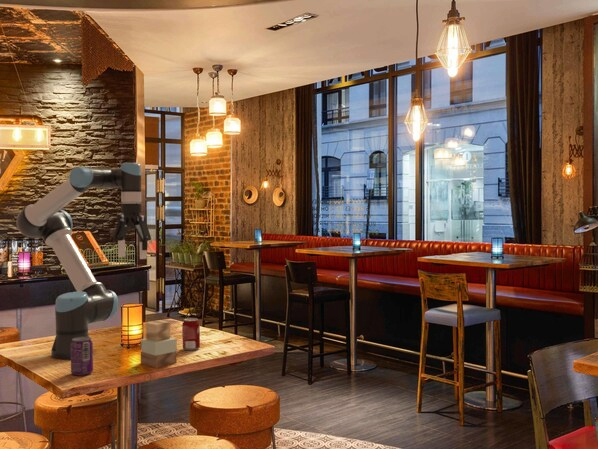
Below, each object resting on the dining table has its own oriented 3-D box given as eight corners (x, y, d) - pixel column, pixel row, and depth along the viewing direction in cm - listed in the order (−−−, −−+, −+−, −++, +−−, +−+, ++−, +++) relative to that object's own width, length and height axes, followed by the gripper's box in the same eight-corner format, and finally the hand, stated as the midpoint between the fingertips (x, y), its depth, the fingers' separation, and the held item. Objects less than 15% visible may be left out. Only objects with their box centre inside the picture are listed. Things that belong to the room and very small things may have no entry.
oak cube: (156, 341, 221) (156, 324, 221) (146, 339, 225) (146, 322, 225) (170, 338, 226) (170, 322, 226) (159, 336, 230) (159, 320, 230)
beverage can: (95, 370, 216) (95, 336, 215) (89, 376, 209) (88, 340, 208) (75, 370, 216) (74, 336, 215) (68, 376, 208) (67, 341, 208)
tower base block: (156, 368, 219) (156, 355, 219) (140, 364, 225) (140, 351, 225) (176, 363, 226) (176, 350, 226) (161, 359, 232) (160, 347, 232)
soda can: (196, 351, 243) (195, 321, 242) (179, 350, 244) (179, 320, 244) (202, 347, 249) (202, 317, 249) (186, 346, 251) (186, 317, 250)
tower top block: (155, 355, 219) (155, 343, 219) (141, 351, 225) (141, 339, 225) (176, 351, 226) (176, 338, 225) (162, 347, 232) (162, 335, 232)
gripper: (160, 202, 235) (160, 258, 236) (120, 203, 251) (121, 255, 252) (143, 203, 229) (144, 260, 230) (104, 203, 245) (105, 256, 246)
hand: (132, 258), depth 241 cm, fingers open, 13 cm apart
